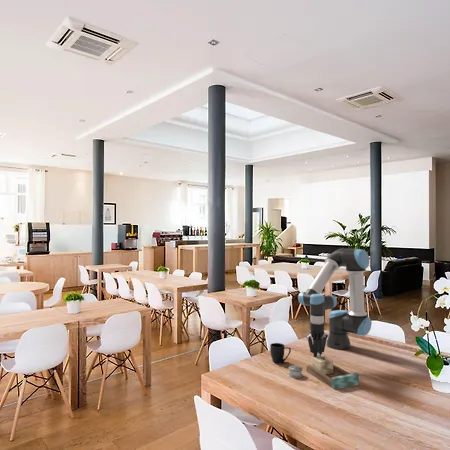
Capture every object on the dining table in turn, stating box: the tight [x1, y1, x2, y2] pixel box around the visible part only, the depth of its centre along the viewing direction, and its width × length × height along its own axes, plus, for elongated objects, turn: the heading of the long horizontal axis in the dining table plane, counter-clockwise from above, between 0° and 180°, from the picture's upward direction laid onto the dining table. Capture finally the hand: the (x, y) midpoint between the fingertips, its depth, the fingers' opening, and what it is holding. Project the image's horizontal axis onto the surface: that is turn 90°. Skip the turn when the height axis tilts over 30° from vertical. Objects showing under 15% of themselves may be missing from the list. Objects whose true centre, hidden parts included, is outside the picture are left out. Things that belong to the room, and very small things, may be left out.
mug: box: [269, 342, 292, 364], centre depth 213 cm, size 8×12×10 cm
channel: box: [305, 363, 360, 390], centre depth 190 cm, size 15×24×5 cm, turn 20°
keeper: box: [312, 355, 334, 376], centre depth 197 cm, size 8×7×8 cm
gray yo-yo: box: [288, 365, 304, 379], centre depth 193 cm, size 7×7×4 cm
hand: (317, 365), depth 202 cm, fingers closed
